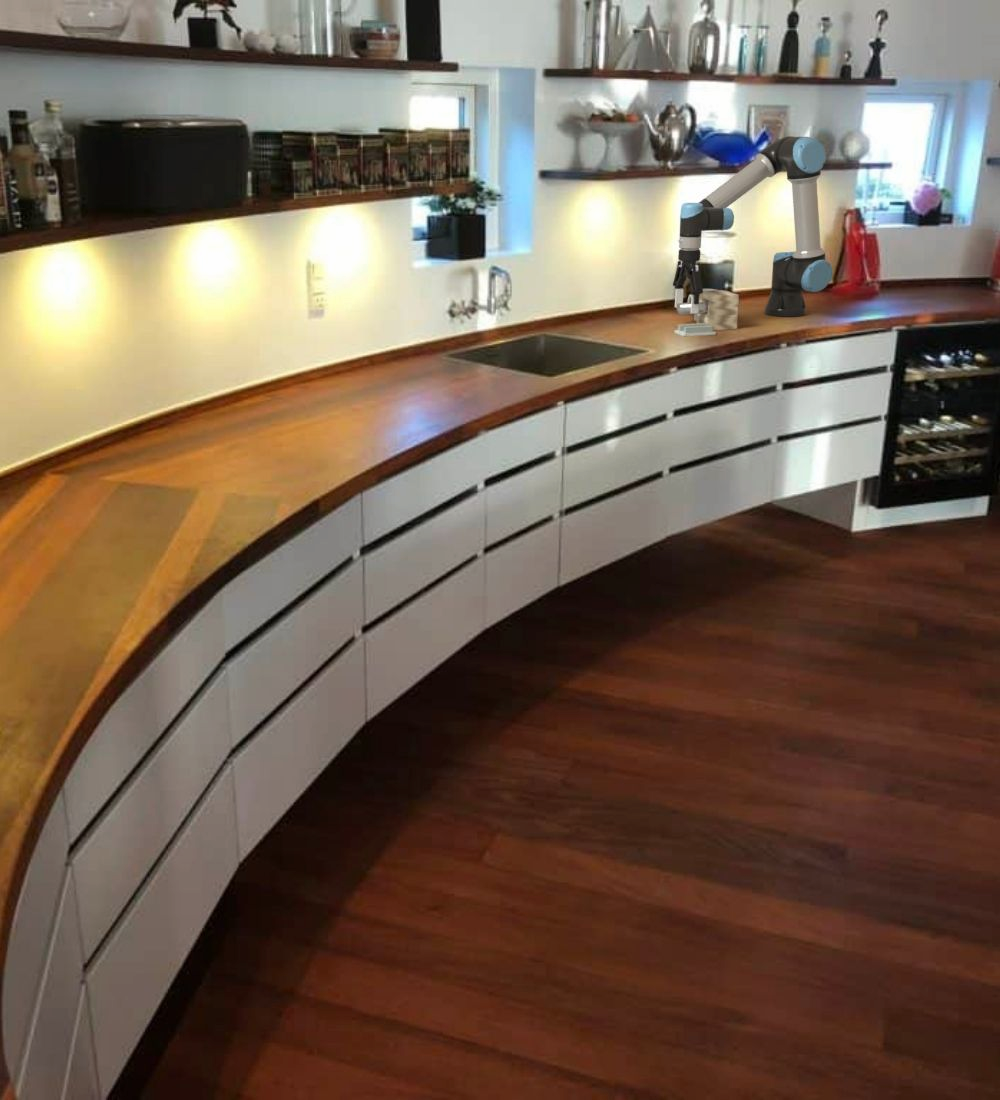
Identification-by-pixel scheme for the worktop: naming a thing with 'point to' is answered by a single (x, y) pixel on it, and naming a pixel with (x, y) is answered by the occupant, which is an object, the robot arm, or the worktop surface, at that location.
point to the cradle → (694, 329)
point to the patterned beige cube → (719, 309)
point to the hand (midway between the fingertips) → (686, 310)
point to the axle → (686, 308)
